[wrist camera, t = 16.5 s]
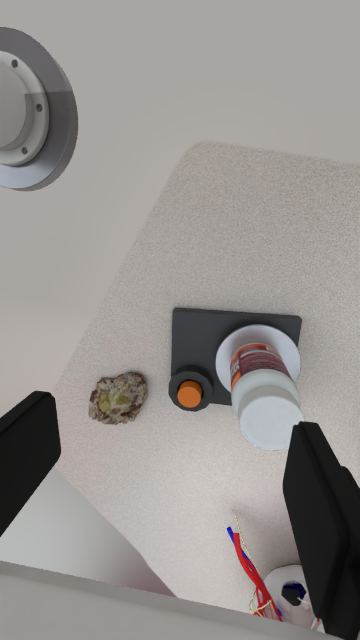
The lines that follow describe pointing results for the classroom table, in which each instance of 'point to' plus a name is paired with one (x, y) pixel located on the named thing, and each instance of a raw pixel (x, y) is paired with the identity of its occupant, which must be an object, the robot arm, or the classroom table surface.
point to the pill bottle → (264, 397)
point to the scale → (212, 348)
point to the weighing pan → (256, 335)
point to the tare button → (189, 394)
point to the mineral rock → (117, 399)
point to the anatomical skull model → (279, 591)
